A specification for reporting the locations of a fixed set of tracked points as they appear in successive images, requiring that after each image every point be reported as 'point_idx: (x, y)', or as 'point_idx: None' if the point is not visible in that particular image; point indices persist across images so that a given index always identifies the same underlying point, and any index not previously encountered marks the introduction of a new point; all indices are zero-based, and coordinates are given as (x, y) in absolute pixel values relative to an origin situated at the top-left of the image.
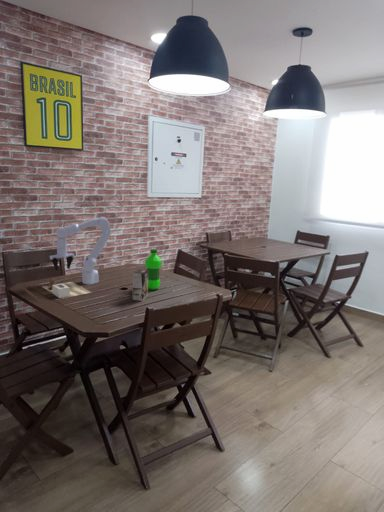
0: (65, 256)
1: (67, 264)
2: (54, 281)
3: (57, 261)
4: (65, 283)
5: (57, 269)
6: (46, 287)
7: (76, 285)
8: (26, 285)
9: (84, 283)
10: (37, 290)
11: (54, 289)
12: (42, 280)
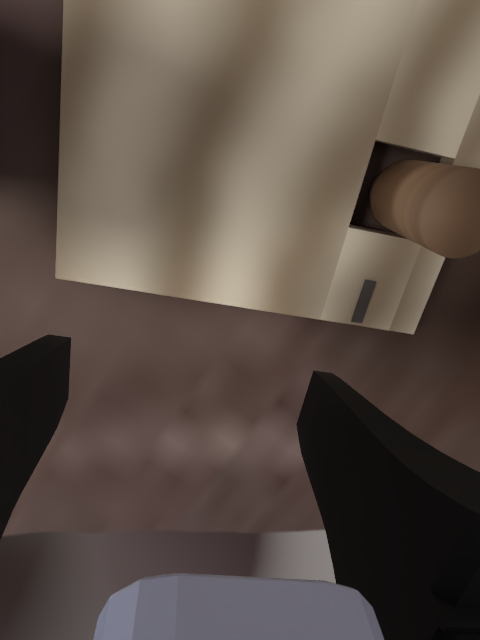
0: (210, 623)
1: (31, 451)
2: (451, 168)
3: (457, 495)
4: (164, 270)
5: (324, 377)
6: (409, 278)
7: (96, 79)
8: None
9: None
10: (471, 301)
11: None
12: (239, 517)
